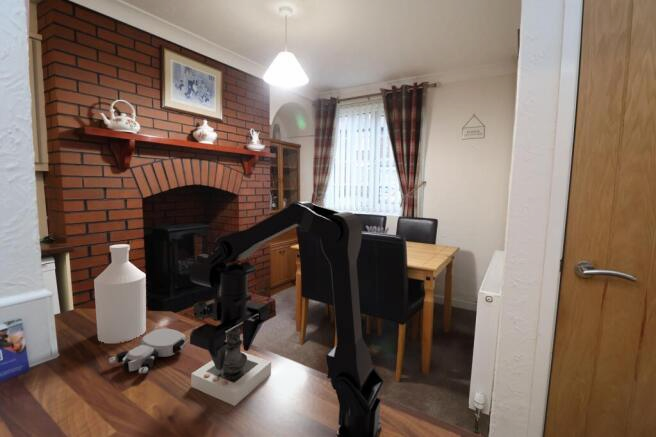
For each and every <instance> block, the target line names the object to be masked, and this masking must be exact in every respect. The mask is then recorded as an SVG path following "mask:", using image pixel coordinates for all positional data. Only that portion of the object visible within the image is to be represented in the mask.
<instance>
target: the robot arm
mask: <svg viewBox="0 0 656 437" xmlns="http://www.w3.org/2000/svg"><path fill="white" fill-rule="evenodd" d="M298 226H299V227H301V228H303V229H304V230H305V231H306V232H307V233H309V234H310V235H312V236H315V237H317V238H319V241H320V245H321V250H322V252H323V255H324V256H325V258H326V259H327V261H328V263H329V265H330V273H331V275H330V276H331V285H332V287H331V288H332V299H333V309H334V310H333V312H334V322H335V333H336V334H335V335H336V336H335V337H336V345H335V346H334V347H333V348H332V349H331V350H330V351H329V353H328V354H327V355H326V365H327V371H328V372H327V376H326V379H328V380H329V379H330V384H331V387H332V389H333V390H334V391H335V394H336V397H337V401H338V404H339V405H338V426H339V427H338V429H337V431H336V437H378V435H379V432H380V430H381V427H382V422H381V421H380V412H381V411H380V410H381V399H380V398H378V396H379V393H380V392H381V389H382V388H383V386H384V383H385V380H384V379H383V378H382V377H381V375H380V374H379V373H378V372H377V370H376V369H375V367H374V366H373V362H372V358H371V357H372V356H371V352H370V349H369V347H368V346H367V344H366V342H365V341H364V338H363V333H362V332H363V331H362V320H361V318H362V316H361V306H360V293H359V282H358V281H359V279H358V278H359V276H358V266H357V261H358V257H359V253H360V250H361V245H362V238H363V237H362V236H363V223H362V221H361V218H360V217H359V216H357V215H356V214H355V213H352V212H349V211H344V212H339V211H337V210H335V209H331V208H327V207H323V206H320V205H317V204H315V203H313V202H311V201H309V200H299V201H298V200H297V201H294V202H291V203H290V204H289V205H288V206H286V207H285V208H283V209H281V210H278V211H277V212H276V213H274V214H272V215H269V216H268V217H266V218H265V219H263V220H261V221H259V222H258V223H255V224H254V225H251V226H250V227H247V228H246V229H242V230H239V231H234V232H231V233H228V234H223V235H219V236H218V237H217V238H216V239H215V240H214V243H215V244H214V246H213V248H212V249H211V251H210V253H209V254H206V253H202V254H201V253H200V254H197V255H196V260H195V261H194V262H193V263H192V265H191V267H190V270H189V271H188V276H189V280H190V281H191V282H192V283H194V284H197V285H201V286H205V287H209V288H214V289H215V288H216V289H217V288H219V295H217V296H214V299H211V300H209V301H205V300H203V301H198V302H196V303H194V304H193V308H192V309H193V311H192V312H193V315H194V318H195V319H201V320H202V321H203V320H205V319H209V318H210V319H211V318H212V321H213V322H219V324H217V325H213V324H211V323H210V324H209V323H208V322H207V323H205V324H202V325H201V326H198V327H196V328H195V329H193V330H192V331H191V332H190V333H189V338H190V340H189V344H190V345H192V346H195V347H197V348H201V349H203V350H206V351H208V353H209V354H210V357H211V359H212V360H213V362H214V364H215V367H216V369H217V370H221V369H222V367H223V363H224V359H225V355H226V350H227V346H228V343H227V342H226V341H227V332H228V331H230V330H231V329H233V328H235V327H239V326H241V327H242V328H241V329H242V347H243V350H244V351H245V352H248V351H250V348H251V347H252V344H253V342H254V340H255V339H256V337H257V334H258V333H259V331H260V329H261V327H262V325H263V324H264V323H265V322H266V319H267V318H269V317H270V308H269V307H268V305H267V304H266V303H262V302H257V301H253V300H252V294H249V293H248V275H251V274H253V273H256V272H257V269H256V267H254V266H253V265H252V263H250V261H248V260H247V261H244V262H241V263H240V262H239V263H238V262H236V261H240V260H243V259H247V258H249V257H250V256H252V255H253V254H254V253H255V252H257V251H258V250H259V248H260V247H261V246H262V245H263V244H265V243H266V242H268V241H270V240H273V239H274V238H277V237H279V236H280V235H282V234H284V233H286V232H288V231H290V230H292V229H294V228H297V227H298ZM212 360H211V361H212Z"/></svg>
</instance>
